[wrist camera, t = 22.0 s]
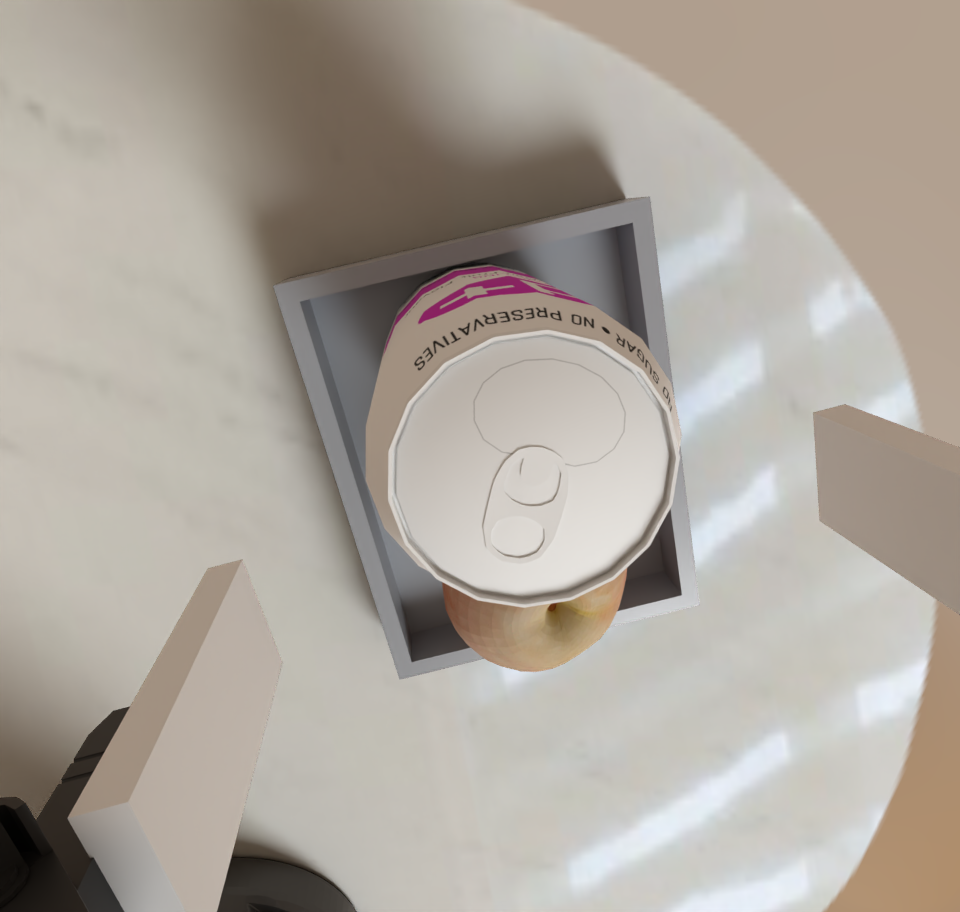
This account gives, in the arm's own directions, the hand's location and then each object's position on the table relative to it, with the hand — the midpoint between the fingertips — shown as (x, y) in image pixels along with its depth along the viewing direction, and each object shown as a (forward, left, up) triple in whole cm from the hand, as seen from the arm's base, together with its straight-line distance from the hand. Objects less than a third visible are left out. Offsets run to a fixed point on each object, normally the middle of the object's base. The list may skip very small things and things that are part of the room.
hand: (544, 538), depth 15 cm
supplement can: (0, +1, -16) cm, 16 cm away
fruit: (0, -8, -16) cm, 18 cm away
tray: (0, -4, -17) cm, 17 cm away
